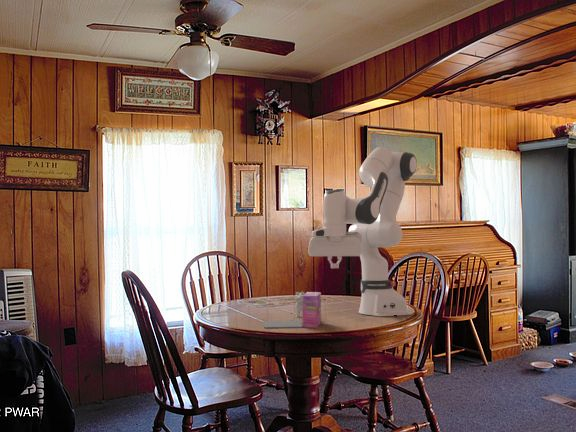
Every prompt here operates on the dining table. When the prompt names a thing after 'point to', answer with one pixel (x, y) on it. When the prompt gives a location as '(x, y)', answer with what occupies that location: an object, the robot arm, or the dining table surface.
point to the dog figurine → (299, 303)
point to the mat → (283, 324)
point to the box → (311, 309)
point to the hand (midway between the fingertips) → (334, 268)
